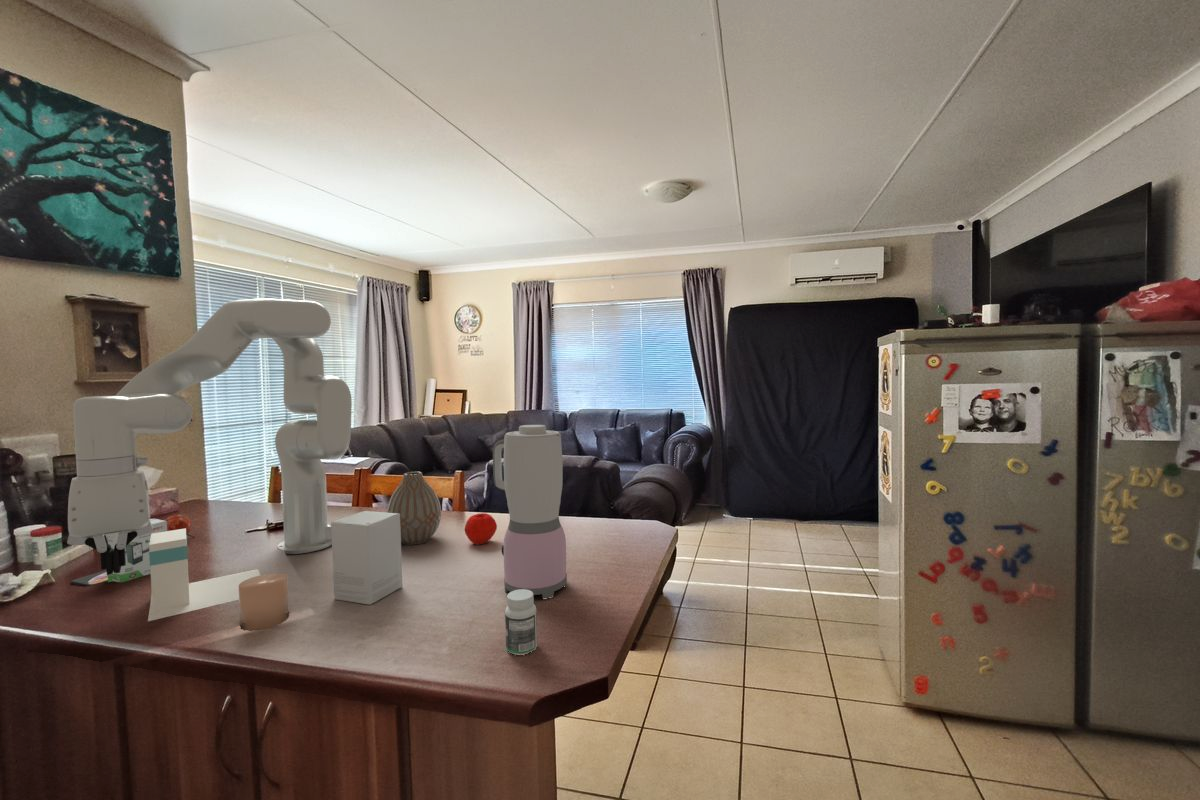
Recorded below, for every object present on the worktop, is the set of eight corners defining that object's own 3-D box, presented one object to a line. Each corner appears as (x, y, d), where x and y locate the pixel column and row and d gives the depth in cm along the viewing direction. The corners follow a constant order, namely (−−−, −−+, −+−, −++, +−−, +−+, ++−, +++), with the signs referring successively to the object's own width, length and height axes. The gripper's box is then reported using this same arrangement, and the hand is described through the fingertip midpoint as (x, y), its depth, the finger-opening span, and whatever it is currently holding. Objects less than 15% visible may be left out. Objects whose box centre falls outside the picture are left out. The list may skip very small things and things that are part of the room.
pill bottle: (514, 638, 80) (513, 586, 80) (542, 642, 79) (541, 589, 79) (500, 654, 76) (499, 599, 75) (529, 659, 74) (528, 602, 74)
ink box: (121, 588, 102) (117, 531, 101) (107, 585, 104) (103, 528, 103) (170, 573, 110) (167, 519, 109) (156, 570, 112) (153, 517, 111)
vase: (395, 534, 136) (393, 469, 135) (446, 531, 137) (444, 467, 136) (380, 550, 122) (377, 479, 122) (435, 548, 124) (433, 477, 123)
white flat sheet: (258, 574, 108) (257, 568, 108) (267, 599, 96) (267, 592, 96) (152, 597, 98) (152, 591, 98) (148, 628, 85) (147, 621, 85)
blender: (578, 581, 102) (576, 424, 101) (546, 606, 91) (543, 430, 90) (514, 569, 109) (511, 421, 108) (477, 591, 98) (473, 427, 97)
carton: (189, 589, 98) (186, 528, 98) (189, 603, 92) (186, 538, 91) (154, 596, 95) (151, 533, 94) (152, 612, 88) (148, 544, 88)
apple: (493, 548, 123) (492, 518, 123) (460, 548, 123) (460, 518, 123) (500, 537, 131) (499, 509, 131) (469, 538, 131) (468, 509, 131)
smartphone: (173, 559, 117) (91, 585, 103) (173, 563, 117) (92, 589, 103) (150, 556, 119) (68, 580, 105) (151, 559, 119) (68, 584, 105)
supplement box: (404, 586, 101) (402, 512, 100) (370, 606, 92) (367, 525, 92) (368, 581, 104) (365, 509, 103) (332, 599, 95) (329, 521, 95)
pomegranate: (181, 545, 136) (141, 530, 129) (201, 520, 138) (163, 505, 132) (188, 554, 131) (147, 539, 124) (209, 528, 134) (170, 512, 127)
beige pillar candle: (285, 607, 92) (283, 570, 92) (292, 621, 87) (290, 581, 87) (238, 620, 88) (236, 580, 88) (242, 635, 82) (240, 593, 82)
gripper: (165, 459, 95) (170, 555, 96) (49, 470, 86) (56, 576, 86) (164, 464, 89) (169, 567, 90) (39, 476, 80) (46, 590, 81)
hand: (114, 571), depth 88 cm, fingers closed
